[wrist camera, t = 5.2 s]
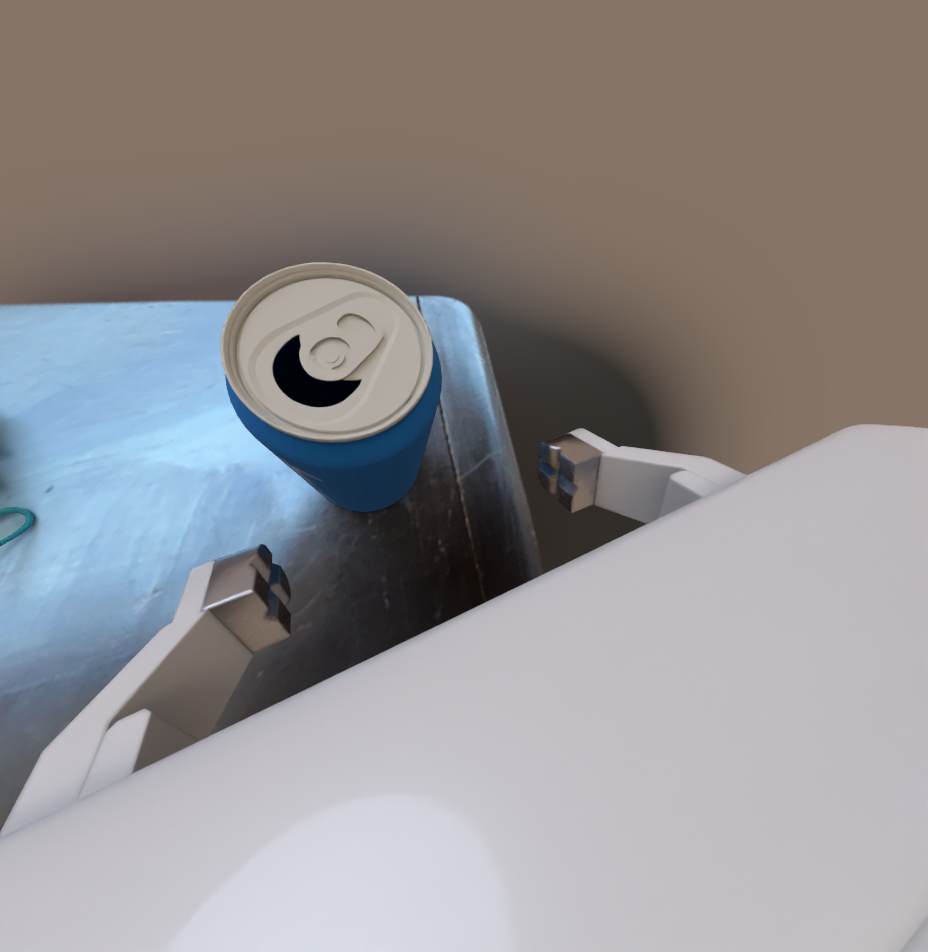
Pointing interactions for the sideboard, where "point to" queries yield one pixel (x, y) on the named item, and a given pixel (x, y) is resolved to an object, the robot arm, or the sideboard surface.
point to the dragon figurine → (27, 525)
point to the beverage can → (335, 379)
